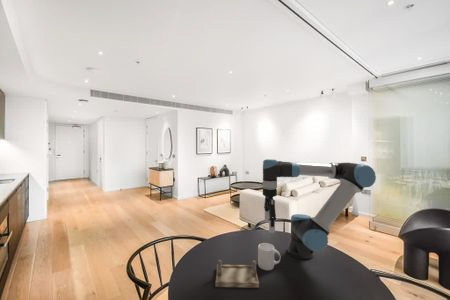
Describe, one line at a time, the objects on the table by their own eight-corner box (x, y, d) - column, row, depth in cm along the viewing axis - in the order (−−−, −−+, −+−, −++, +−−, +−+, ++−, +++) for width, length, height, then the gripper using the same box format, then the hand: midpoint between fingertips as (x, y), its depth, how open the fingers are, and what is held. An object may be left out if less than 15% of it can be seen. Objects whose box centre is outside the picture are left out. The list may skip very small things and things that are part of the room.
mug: (281, 272, 106) (281, 251, 106) (258, 270, 108) (258, 250, 107) (279, 262, 115) (279, 243, 114) (257, 261, 116) (257, 242, 116)
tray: (255, 269, 108) (255, 254, 108) (258, 287, 94) (259, 270, 94) (217, 268, 109) (217, 253, 109) (215, 286, 95) (215, 269, 95)
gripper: (259, 183, 123) (259, 218, 123) (266, 193, 98) (266, 237, 98) (272, 183, 123) (271, 219, 123) (282, 193, 98) (282, 237, 98)
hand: (269, 227), depth 111 cm, fingers open, 13 cm apart
